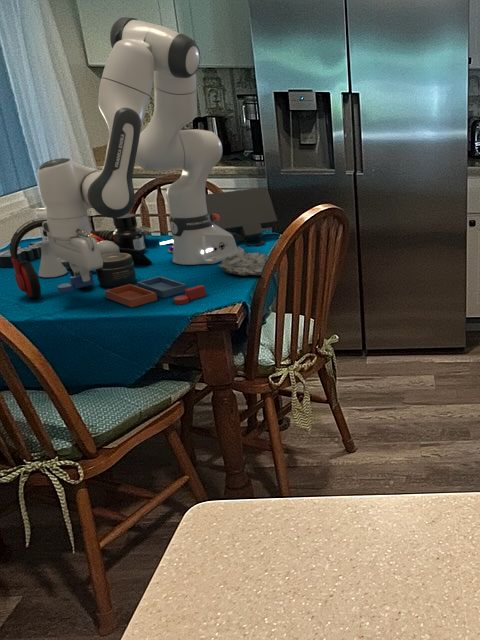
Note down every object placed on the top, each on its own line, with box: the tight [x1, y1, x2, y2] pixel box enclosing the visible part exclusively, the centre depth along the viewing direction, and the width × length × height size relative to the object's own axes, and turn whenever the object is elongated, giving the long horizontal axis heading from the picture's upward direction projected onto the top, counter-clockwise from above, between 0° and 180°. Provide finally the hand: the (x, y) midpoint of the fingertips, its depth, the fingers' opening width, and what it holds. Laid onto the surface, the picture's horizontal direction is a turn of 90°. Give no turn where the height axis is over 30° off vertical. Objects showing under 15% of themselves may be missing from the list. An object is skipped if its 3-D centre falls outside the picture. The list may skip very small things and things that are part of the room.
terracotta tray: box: [104, 283, 158, 308], centre depth 173 cm, size 13×7×2 cm, turn 53°
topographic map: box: [108, 225, 159, 233], centre depth 223 cm, size 19×19×2 cm
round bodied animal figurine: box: [97, 240, 120, 255], centre depth 195 cm, size 7×12×8 cm, turn 138°
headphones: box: [9, 218, 93, 299], centre depth 174 cm, size 18×10×20 cm, turn 134°
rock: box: [218, 252, 280, 277], centre depth 196 cm, size 17×4×15 cm
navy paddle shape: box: [56, 273, 95, 293], centre depth 168 cm, size 9×4×3 cm, turn 142°
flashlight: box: [43, 229, 115, 242], centre depth 218 cm, size 4×5×25 cm
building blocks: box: [167, 245, 173, 254], centre depth 218 cm, size 6×8×2 cm
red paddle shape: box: [173, 284, 207, 305], centre depth 173 cm, size 9×4×3 cm, turn 143°
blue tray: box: [136, 276, 188, 299], centre depth 180 cm, size 13×7×2 cm, turn 53°
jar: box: [95, 253, 137, 289], centre depth 184 cm, size 10×10×8 cm
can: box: [35, 205, 48, 241], centre depth 226 cm, size 6×6×12 cm
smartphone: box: [119, 248, 153, 265], centre depth 202 cm, size 7×1×15 cm
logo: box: [0, 238, 48, 268], centre depth 209 cm, size 24×3×10 cm
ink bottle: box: [112, 213, 146, 253], centre depth 213 cm, size 10×9×12 cm
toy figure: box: [89, 233, 105, 243], centre depth 214 cm, size 2×7×12 cm
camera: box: [205, 186, 278, 243], centre depth 229 cm, size 25×16×16 cm, turn 126°
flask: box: [37, 240, 69, 278], centre depth 191 cm, size 7×7×10 cm
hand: (82, 279), depth 169 cm, fingers closed on navy paddle shape
